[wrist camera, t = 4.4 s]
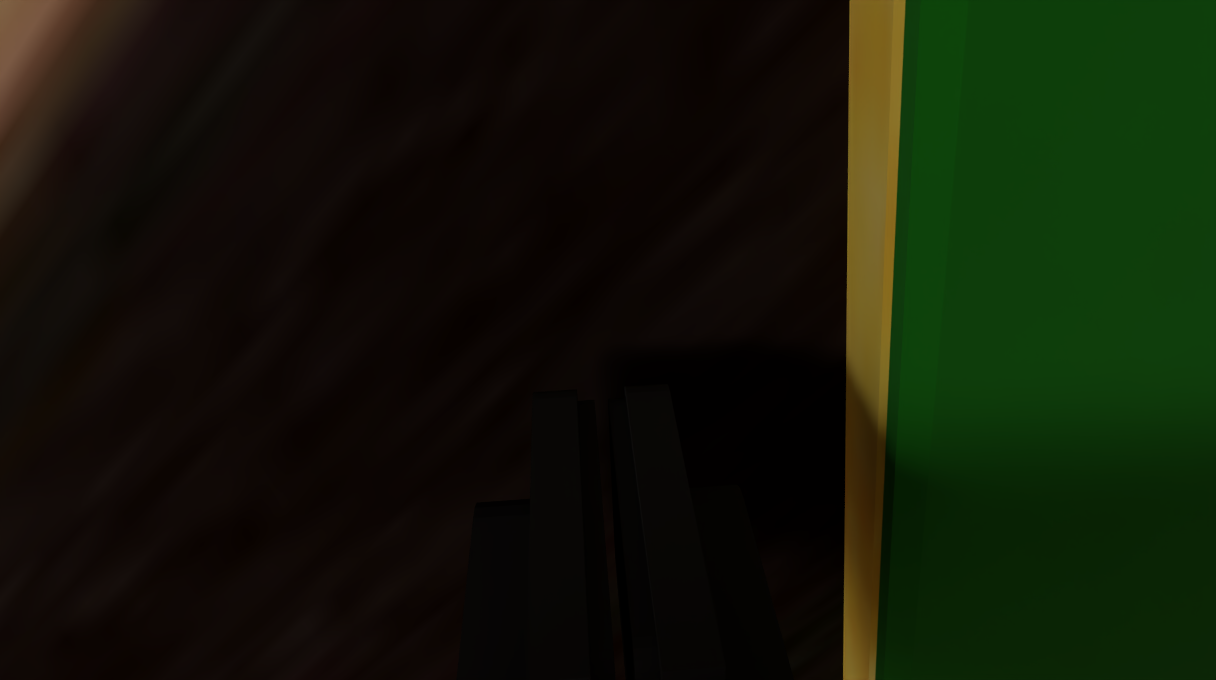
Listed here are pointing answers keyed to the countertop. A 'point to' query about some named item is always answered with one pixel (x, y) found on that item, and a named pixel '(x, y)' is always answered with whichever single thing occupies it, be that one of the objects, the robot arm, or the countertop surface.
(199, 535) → the countertop surface
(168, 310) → the countertop surface
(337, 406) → the countertop surface
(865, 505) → the dish sponge
